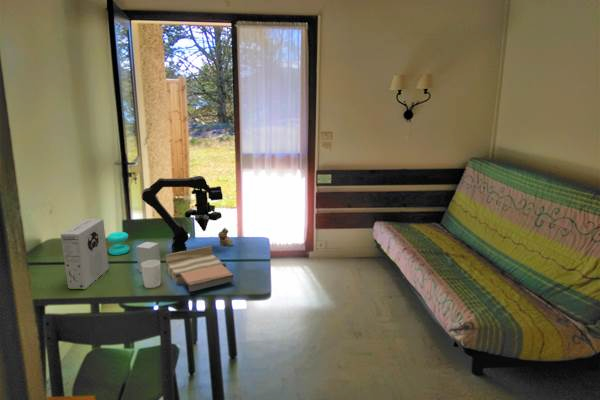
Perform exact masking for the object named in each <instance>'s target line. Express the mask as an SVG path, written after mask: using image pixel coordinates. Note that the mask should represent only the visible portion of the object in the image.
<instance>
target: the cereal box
mask: <svg viewBox="0 0 600 400" xmlns="http://www.w3.org/2000/svg"><path fill="white" fill-rule="evenodd" d="M105 231H106V230H105V224H104V219H103V218H86V219H84V220H82V221H81V222H79V223H78V224H76V225H74V226H72V227H71V228H68V229H67V230H65V231H63V232H62V233H60V240H61V245H62V254H63V260H64V261H63V262H64V268H65V275H66V283H67V289H68V288H83V289H85V288H87V287H88V286H89V285H91V284H92V283H93V282H94V281H95V280H96V281H98V280H99V279H100V278H101V277H102V276H104V275H105V272H106V271H107V270H108V269H110V268H109V266H110V265H109V256H108V249H107V241H106V240H107V239H106V232H105ZM108 271H109V270H108ZM108 271H107V272H108ZM107 272H106V273H107ZM101 275H102V276H101ZM100 276H101V277H100ZM99 277H100V278H99ZM98 278H99V279H98ZM97 279H98V280H97ZM96 281H95V282H96ZM95 282H94V283H95ZM94 283H93V284H94ZM93 284H92V285H93ZM92 285H91V286H92ZM88 288H89V287H88ZM88 288H87V289H88Z"/></svg>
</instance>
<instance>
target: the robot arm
mask: <svg viewBox="0 0 600 400" xmlns="http://www.w3.org/2000/svg"><path fill="white" fill-rule="evenodd" d="M163 188H191V189H192V190H191V191H190V192H191V194H192V195H195V204H194V207H195V208H196V209H189V210H187V211H185V212H184V217H185V218H191V217H192V216H194V221H196V222H197V224H198V225H199V227H200V228H201V230H202V231H203V232H205V231H206V229H207V227H208V223H209V221H218V220H219V219H221V218H222V213H221V212H220V211H216V210H215V208H216V205H212V204H211V203H210V201H219V200H223V199H224V198H223V191H222V187H221V186H220V185H219V186H212V187H210V185H209V184H208V183H207V181H206V178H205V177H204V176H201V175H197V176H196V175H195V176H192V177H189V178H163V177H160V178H157V180H156V181H155V182H153V184H151V185H150V186H149V187H147V188H144V189H143V191H142V193H141V194H142V195H141V199H142V200H143V201H144V203H146V204H147V205H149V206H150V207H151V208H153V209H154V211H156V213H157V214H158V215H159V217H161V218H162V220H163V221H164V222H165V223H166V224H167V226H168V227H169V228H170V230H171V231H172V233H173V235H174V236H173V237H171V238H172V239H171V241H172V244H171V251H172V252H171V253H176V252H181V251H186V250H188V248H187V244H186V242H188V240H189V230H188V228H187V227H185V225H184V224H183V223H181V224H180V223H178V222H177V221H176V220H175V218H174V217H173V216H172V215H171V214H170V213H169V211H168V210H167V209H166V208H165V206H164V205H163V204H162V203H161V202H160V199H159V198H158V196H157V195H158V193H159V192H160V191H161V190H162V189H163ZM208 199H210V201H209V200H208Z"/></svg>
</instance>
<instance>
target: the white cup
mask: <svg viewBox="0 0 600 400" xmlns="http://www.w3.org/2000/svg"><path fill="white" fill-rule="evenodd" d="M160 264H161V260H160V261H158V260H148V261H145V262H143V263H141V269H142V272H141V274H142V280H143V286H144V287H145V288H147V289H155V288H157V287H159V286H160V285H161V283H162V282H161V272H162V270H161V268H160Z"/></svg>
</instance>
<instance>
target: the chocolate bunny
mask: <svg viewBox="0 0 600 400" xmlns="http://www.w3.org/2000/svg"><path fill="white" fill-rule="evenodd" d="M228 233H229V229H227V228H226V227H224V228H223V229H222V230H221V231H219V233H218V234H217V235H218V238H219V245H220V246H224V247H232V246H234V243H233V241H232V239H231V238H230V237H229V236H228Z"/></svg>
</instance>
